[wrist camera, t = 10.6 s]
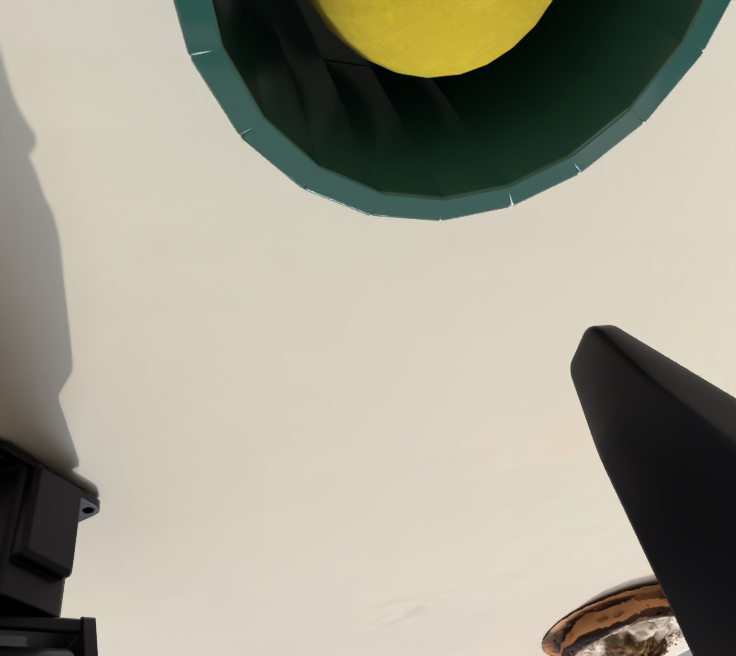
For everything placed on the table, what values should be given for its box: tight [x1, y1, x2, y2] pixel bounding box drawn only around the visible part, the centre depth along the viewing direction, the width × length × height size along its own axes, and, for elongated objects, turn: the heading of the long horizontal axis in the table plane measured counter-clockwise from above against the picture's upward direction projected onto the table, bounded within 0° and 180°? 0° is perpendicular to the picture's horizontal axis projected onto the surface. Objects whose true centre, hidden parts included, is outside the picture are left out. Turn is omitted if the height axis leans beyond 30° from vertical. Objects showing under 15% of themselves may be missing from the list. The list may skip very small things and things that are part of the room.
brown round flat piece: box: [542, 585, 684, 656], centre depth 58 cm, size 15×15×4 cm
